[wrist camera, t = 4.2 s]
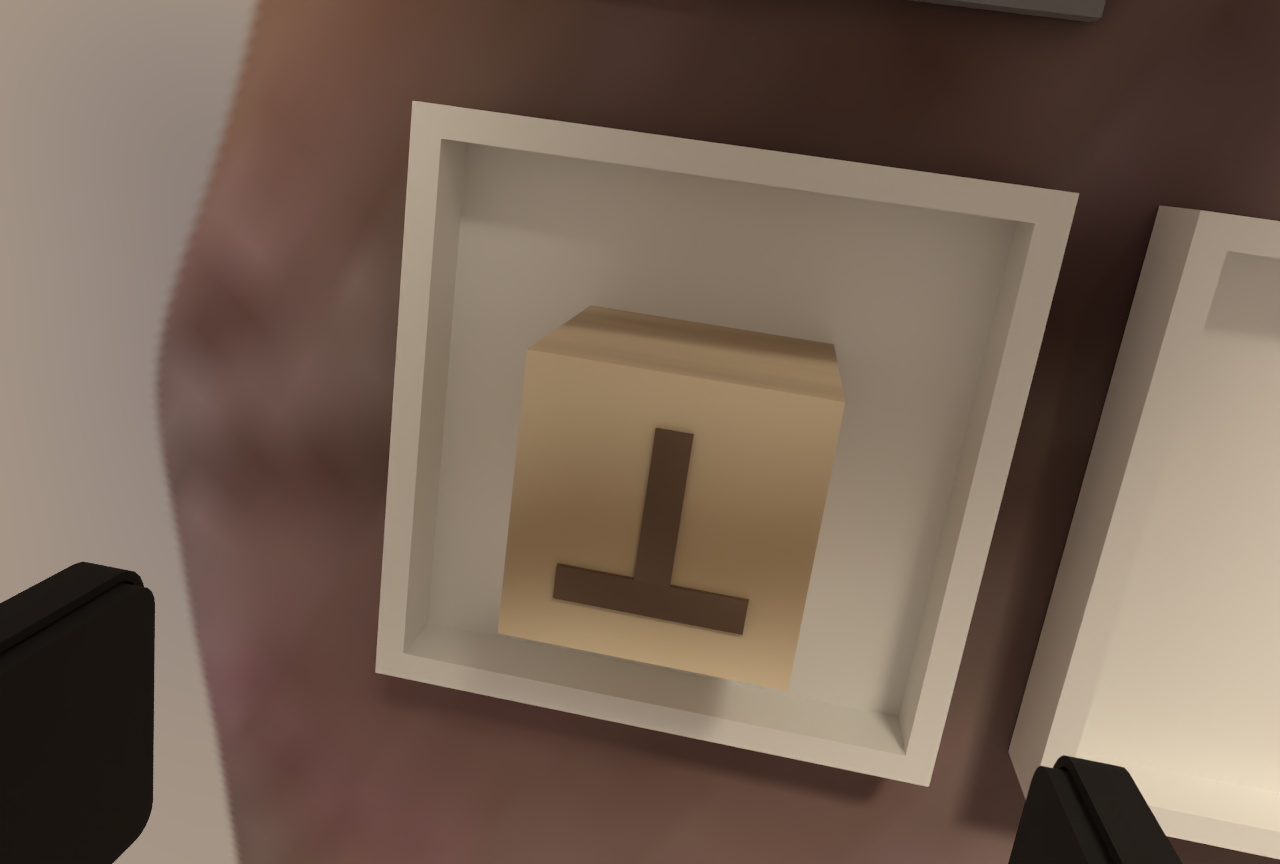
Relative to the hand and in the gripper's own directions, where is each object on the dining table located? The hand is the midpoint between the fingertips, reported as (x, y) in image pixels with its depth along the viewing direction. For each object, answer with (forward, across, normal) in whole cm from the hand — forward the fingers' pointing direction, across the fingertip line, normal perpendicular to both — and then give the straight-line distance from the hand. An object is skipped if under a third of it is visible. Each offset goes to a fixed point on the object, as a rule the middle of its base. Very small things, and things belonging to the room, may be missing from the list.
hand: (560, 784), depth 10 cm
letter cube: (+11, 0, -1) cm, 11 cm away
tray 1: (+12, 0, -1) cm, 12 cm away
